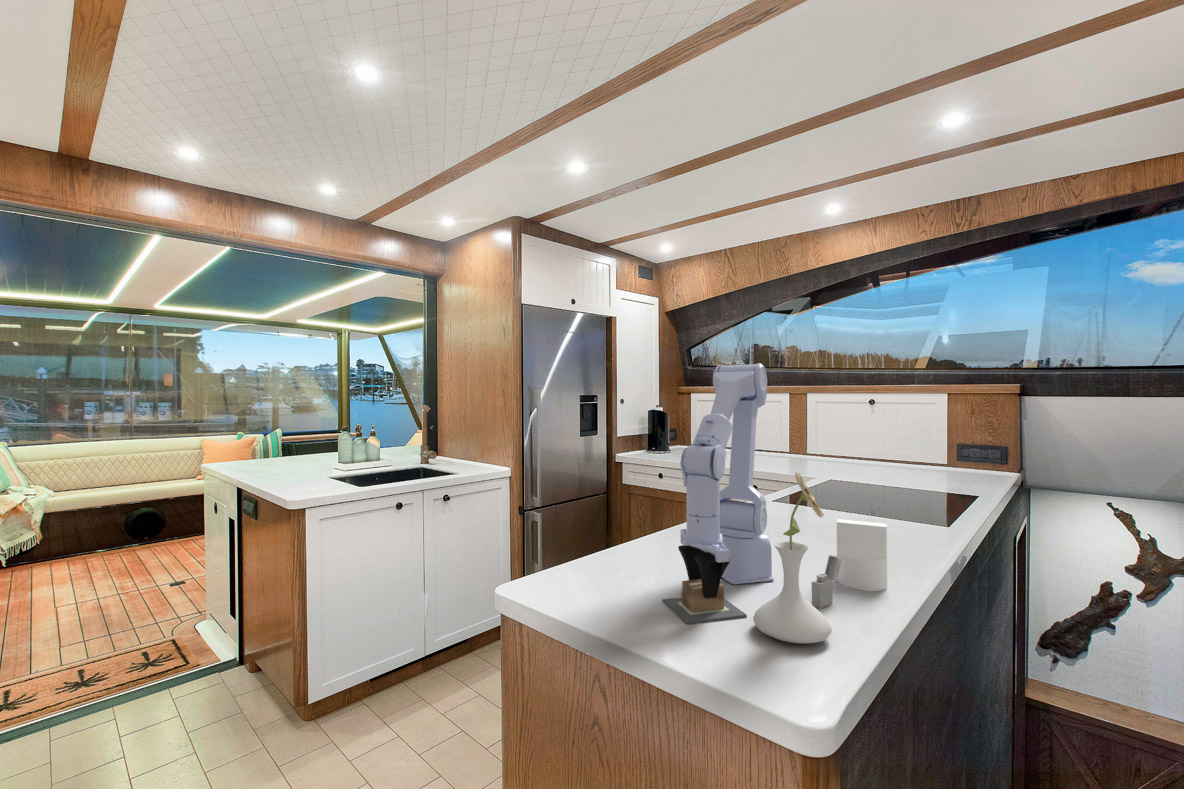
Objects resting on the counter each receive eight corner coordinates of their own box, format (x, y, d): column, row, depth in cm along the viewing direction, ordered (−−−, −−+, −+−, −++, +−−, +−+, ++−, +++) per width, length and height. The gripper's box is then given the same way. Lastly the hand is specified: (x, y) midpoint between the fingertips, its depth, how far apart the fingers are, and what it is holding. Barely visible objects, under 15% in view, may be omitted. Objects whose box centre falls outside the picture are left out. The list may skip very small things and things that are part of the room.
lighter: (820, 608, 90) (820, 563, 91) (811, 605, 92) (811, 560, 92) (841, 599, 95) (841, 556, 95) (832, 596, 96) (832, 553, 96)
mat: (717, 595, 96) (717, 593, 96) (746, 617, 87) (746, 614, 87) (662, 601, 94) (662, 598, 94) (686, 624, 84) (686, 621, 84)
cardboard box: (682, 603, 91) (682, 580, 91) (712, 600, 93) (712, 577, 93) (692, 612, 87) (692, 588, 87) (723, 608, 89) (724, 585, 89)
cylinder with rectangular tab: (835, 586, 102) (835, 525, 102) (837, 572, 110) (837, 516, 110) (888, 594, 97) (887, 530, 98) (886, 579, 105) (886, 520, 106)
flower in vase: (818, 660, 72) (817, 481, 73) (741, 636, 80) (740, 474, 80) (843, 629, 82) (843, 472, 83) (773, 610, 90) (772, 466, 90)
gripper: (665, 506, 96) (665, 579, 96) (701, 524, 82) (701, 610, 82) (699, 504, 98) (700, 576, 98) (740, 522, 84) (740, 605, 84)
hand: (703, 591), depth 90 cm, fingers open, 5 cm apart
